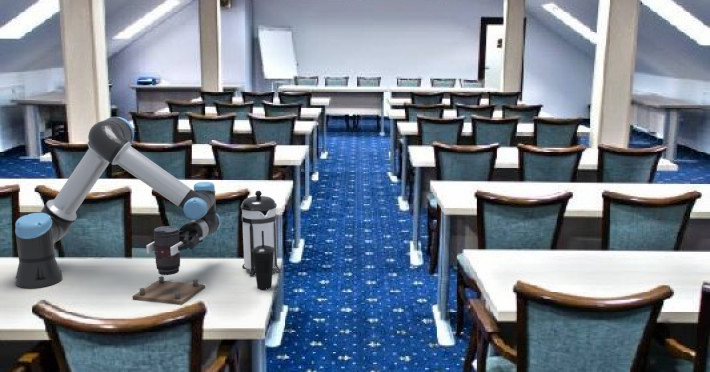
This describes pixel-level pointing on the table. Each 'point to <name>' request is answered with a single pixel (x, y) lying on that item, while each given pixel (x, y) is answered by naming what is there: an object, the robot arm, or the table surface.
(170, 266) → the camera lens
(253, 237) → the coffee press
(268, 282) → the drinking cup
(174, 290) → the board
